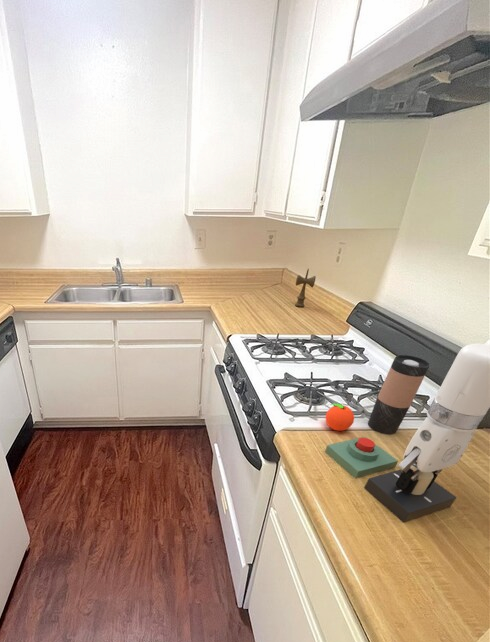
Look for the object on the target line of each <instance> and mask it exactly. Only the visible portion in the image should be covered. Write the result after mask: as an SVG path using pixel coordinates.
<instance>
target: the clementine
mask: <svg viewBox="0 0 490 642" xmlns="http://www.w3.org/2000/svg"><path fill="white" fill-rule="evenodd" d="M329 406H332V407H330V408H329V409H328V410H327V412H326V414H325V422H326V424H327V426H328V427H329V428H330V429H331V430H334V431H338V432H339V431H345V430H348V429H349V428H351V426H353V424H354V421H355V414H354V412H353V410H352V409H351V408H349V406H347V405H344V404H340V403H330V404H329ZM325 408H327V406H325Z"/></svg>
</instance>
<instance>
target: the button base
mask: <svg viewBox="0 0 490 642" xmlns="http://www.w3.org/2000/svg"><path fill="white" fill-rule="evenodd" d="M359 438H367V437H366V436H362V437H356V438H352V439H347V440H343V441H340V442H334V443H330V444H327V445H326V448H325V450H324V452H325V453H326V454H327V455H328V456H329V457H330V458H331V459H333V461H334V462H336V463H337V464H338V465H339V466H340V467H342V468H343V469H344V470H345V471H346V472H347V473H349V474H350V475H351V476H352V477H353V478H354V479H359V478H362V477H365V476H369V475H372V474H376V473H381V472H385V471H387V470H392V469H395V468H396V466H397V465H398V462H399V460H398V459H397V458H396V457H394V456H393V455H391V454H390V453H388V452H387V451H386V450H384V449H383V448H382V447H381V446H379V445H378V444H376V443H375V446H374V448H373V451H372V452H370V453H369V452H363V451H361V450H359V449H358V448H356V444H357V441H358V439H359Z"/></svg>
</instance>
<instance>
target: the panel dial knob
mask: <svg viewBox="0 0 490 642" xmlns="http://www.w3.org/2000/svg"><path fill="white" fill-rule="evenodd" d="M410 468H411V469H412V470H413V471H414V473H415V471H416V470H417V468H416V467H414V466H413V465H412V466H411V467H410ZM433 477H434V475H433V473H432V472H428V473H423V472H422V473H421V474H420V476H419V477H418V478H417V480H419V481H418V483H417V484H416V486H415V488H414V489H413V491H412V493H411V494H414V495H421V494H423V493H424V492H425V490H426V488H427V487H428V485H429V484H430V482H431V480H432V479H433Z"/></svg>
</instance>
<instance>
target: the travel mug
mask: <svg viewBox="0 0 490 642" xmlns="http://www.w3.org/2000/svg"><path fill="white" fill-rule="evenodd" d="M429 368H430V363H429V362H428V361H427V360H426V359H423V358H420V357H418V356H413V355H408V354H399V355H396V356H395V357H394V358H393V361H392V363H391V366H390V368H389V370H388V372H387V375H386V377H385V379H384V381H383V383H382V386H381V388H380V391H379V393H378V395H377V398H376V400H375V403H374V405H373V408H372V411H371V414H370V415H369V419H368V421H367V426H368V427H369V428H370V429H371V430H373V431H374V432H377V433H379V434H383V435H395V434H397V432H398V430H399V428H400V426H401V424H402V422H403V420H404V419H405V417H406V415H407V413H408V411H409V410H410V408H411V406H412V404H413V401H414V400H415V397H416V395H417V393H418V391H419V389H420V387H421V384H422V383H423V380H424V378H425V376H426V374H427V373H428V370H429Z"/></svg>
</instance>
